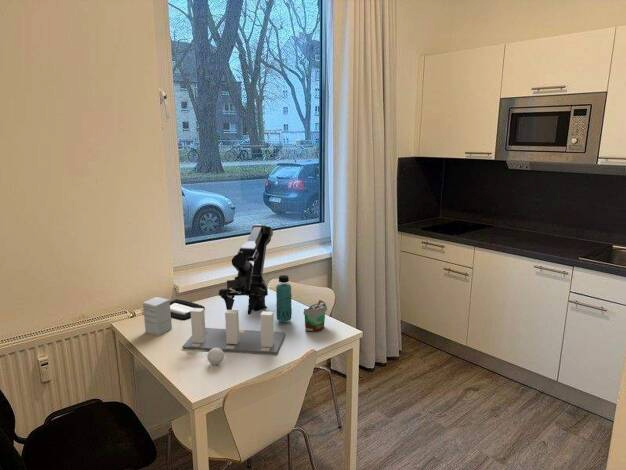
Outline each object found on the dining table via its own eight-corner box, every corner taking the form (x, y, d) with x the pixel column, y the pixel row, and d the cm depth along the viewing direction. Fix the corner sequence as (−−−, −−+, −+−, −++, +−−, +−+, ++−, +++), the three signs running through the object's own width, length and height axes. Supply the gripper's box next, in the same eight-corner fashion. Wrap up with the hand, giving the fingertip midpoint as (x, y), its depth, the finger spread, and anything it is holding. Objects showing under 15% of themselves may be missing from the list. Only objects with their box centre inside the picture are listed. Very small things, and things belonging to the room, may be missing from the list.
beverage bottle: (273, 323, 177) (272, 277, 172) (280, 317, 183) (279, 272, 178) (287, 326, 174) (287, 279, 170) (294, 320, 180) (294, 274, 176)
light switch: (151, 308, 188) (176, 296, 200) (152, 314, 189) (176, 301, 200) (183, 318, 178) (207, 304, 190) (184, 324, 179) (208, 310, 191)
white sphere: (225, 358, 149) (224, 344, 148) (224, 367, 144) (223, 352, 142) (202, 360, 148) (201, 345, 147) (200, 368, 143) (199, 353, 141)
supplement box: (159, 325, 176) (156, 296, 173) (172, 328, 172) (170, 299, 169) (144, 332, 169) (141, 302, 166) (158, 336, 166) (155, 305, 163)
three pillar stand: (199, 329, 171) (197, 298, 168) (285, 334, 167) (284, 302, 164) (182, 349, 156) (179, 314, 153) (276, 354, 152) (276, 319, 149)
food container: (316, 336, 165) (316, 312, 163) (303, 333, 169) (303, 309, 166) (332, 325, 176) (332, 302, 173) (319, 321, 179) (319, 299, 176)
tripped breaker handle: (229, 339, 160) (227, 309, 157) (239, 340, 159) (238, 310, 157) (226, 343, 157) (225, 312, 154) (237, 344, 157) (235, 313, 154)
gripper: (213, 271, 169) (206, 309, 163) (254, 268, 162) (248, 308, 156) (229, 279, 179) (223, 316, 172) (268, 277, 171) (263, 316, 165)
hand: (238, 314), depth 166 cm, fingers open, 9 cm apart
